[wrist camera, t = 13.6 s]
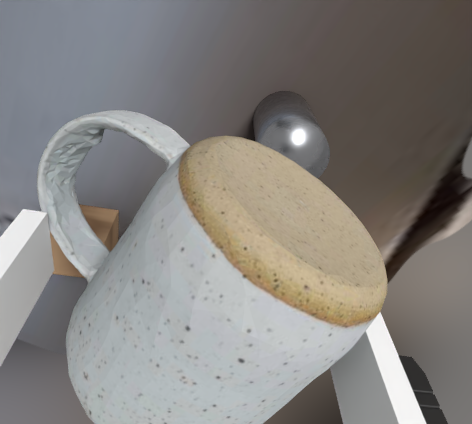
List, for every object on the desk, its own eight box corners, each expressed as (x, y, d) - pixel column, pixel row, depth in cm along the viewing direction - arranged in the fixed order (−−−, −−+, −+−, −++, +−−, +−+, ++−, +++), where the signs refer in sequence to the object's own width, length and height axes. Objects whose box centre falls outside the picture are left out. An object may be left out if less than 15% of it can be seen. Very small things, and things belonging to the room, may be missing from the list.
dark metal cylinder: (247, 141, 32) (250, 182, 26) (261, 85, 29) (268, 117, 23) (300, 151, 32) (315, 193, 27) (319, 98, 29) (340, 132, 24)
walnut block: (70, 240, 38) (51, 273, 34) (67, 202, 35) (46, 234, 31) (118, 246, 39) (105, 280, 35) (118, 209, 36) (104, 242, 32)
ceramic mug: (365, 188, 14) (469, 384, 7) (249, 306, 18) (254, 495, 12) (99, 28, 11) (-106, 134, 4) (33, 216, 15) (-120, 410, 8)
